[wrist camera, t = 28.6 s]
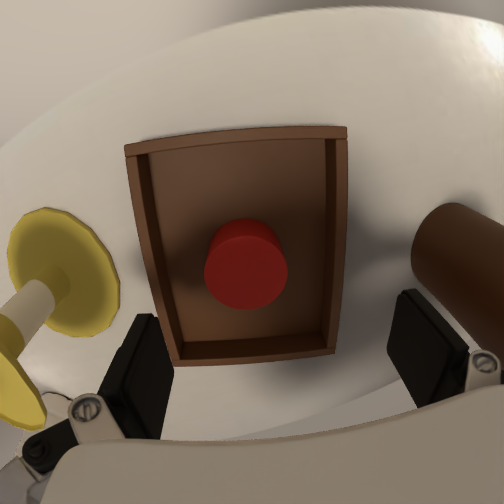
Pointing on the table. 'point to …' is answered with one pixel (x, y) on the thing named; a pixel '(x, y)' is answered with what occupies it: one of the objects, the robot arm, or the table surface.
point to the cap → (245, 265)
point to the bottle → (464, 270)
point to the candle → (50, 300)
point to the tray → (243, 207)
